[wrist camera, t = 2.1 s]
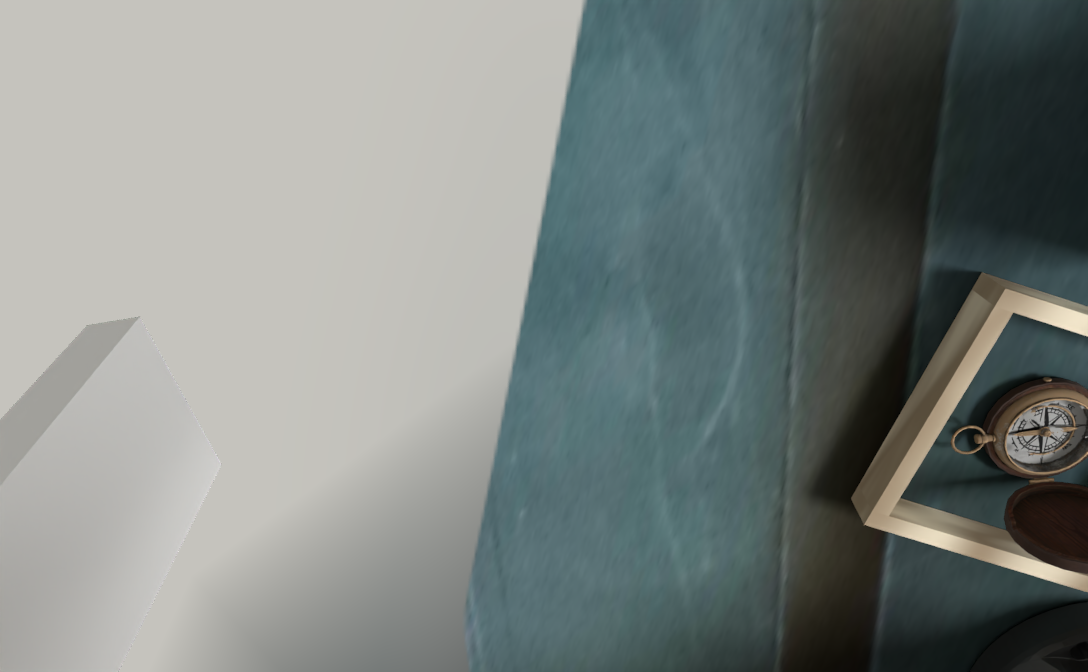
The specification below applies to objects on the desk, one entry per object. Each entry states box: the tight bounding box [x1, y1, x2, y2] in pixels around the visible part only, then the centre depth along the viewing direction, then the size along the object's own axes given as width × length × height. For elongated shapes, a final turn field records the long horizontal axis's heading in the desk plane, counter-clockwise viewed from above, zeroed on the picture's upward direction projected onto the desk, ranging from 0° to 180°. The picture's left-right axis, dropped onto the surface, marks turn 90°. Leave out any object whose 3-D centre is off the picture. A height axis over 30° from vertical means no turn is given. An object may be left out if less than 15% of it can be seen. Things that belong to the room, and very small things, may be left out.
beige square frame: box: [851, 272, 1088, 592], centre depth 41 cm, size 15×15×2 cm
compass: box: [951, 377, 1088, 574], centre depth 39 cm, size 8×8×7 cm
